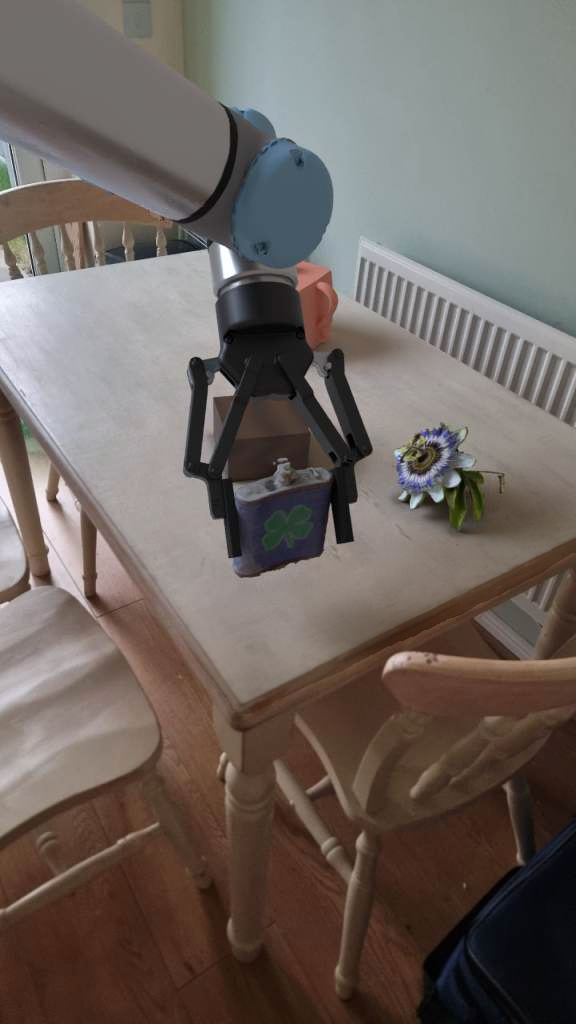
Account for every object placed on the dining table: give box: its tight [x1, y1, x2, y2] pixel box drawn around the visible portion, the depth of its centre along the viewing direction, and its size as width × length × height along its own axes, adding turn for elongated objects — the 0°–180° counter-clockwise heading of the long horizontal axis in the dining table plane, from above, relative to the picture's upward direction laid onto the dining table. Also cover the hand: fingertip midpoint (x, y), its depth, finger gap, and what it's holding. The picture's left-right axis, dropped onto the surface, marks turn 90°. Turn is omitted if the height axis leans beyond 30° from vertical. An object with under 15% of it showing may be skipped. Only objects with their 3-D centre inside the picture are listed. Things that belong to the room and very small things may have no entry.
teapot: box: [296, 260, 339, 350], centre depth 107 cm, size 20×19×14 cm
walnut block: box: [212, 394, 312, 482], centre depth 86 cm, size 10×10×6 cm
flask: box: [232, 458, 335, 579], centre depth 61 cm, size 9×3×11 cm, turn 117°
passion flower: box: [393, 421, 506, 532], centre depth 81 cm, size 11×11×12 cm
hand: (291, 549), depth 59 cm, fingers closed on flask, 9 cm apart
